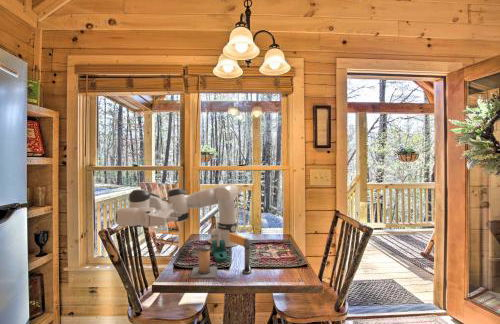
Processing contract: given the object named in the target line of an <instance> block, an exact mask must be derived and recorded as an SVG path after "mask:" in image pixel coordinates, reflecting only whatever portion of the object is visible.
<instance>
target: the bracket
mask: <svg viewBox="0 0 500 324" xmlns="http://www.w3.org/2000/svg"><path fill="white" fill-rule="evenodd" d="M211 253H212V256H213V257H214V260H215V262H217V263H225V262H224V261H226V262H227V261H228V259H229V258H228V257H229V256H228V254H227V252H226V247H225V241H224V240H220V243H219V247H217V240H212V244H211Z"/></svg>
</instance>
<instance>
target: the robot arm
mask: <svg viewBox="0 0 500 324" xmlns="http://www.w3.org/2000/svg"><path fill="white" fill-rule="evenodd" d="M239 190H240V189H239V187H238V185H236V184H234V183H226V184H222V185H219V186H215V187H211V188H207V189H203V190H199V191H195V192H193V193H190V194H188V192H187V191H185V189H183V188H181V187H180V188H179V187H174V188H171V189H170V190H169V191H168V192H167V197H168V201H166V200H161V198H160V196H159V195H158V194H156V193H152V192H150V191H148V190H145V189H141V188H139V189H133V190H132V191H131V192H130V193H129V194H128V200H129V207H124V208H123V207H122V208H118V209H117V210H116V213H115V222H116V225H118V226H125V227H132V228H141V227H144V228H150V227H160V226H164V225H166V224H167V223H171V222H177V223H183V222H185V221H187V220H188V219H189V218H190V212H189V209H190V210H192V209H193V210H195V209H196V210H197V209H202V208H206V207H210V206H214V205H218V215H219V217H218V222H217V226H216V228H215V229H214V230H212V232H211V233H210V237H209V238H207V240H206V241H207V242H208V243H210V244H211V245H212V240H217V248H219V243H220V240H224V241H225V248H229V247H230V248H231V247H235V246H239V244H236V243H234V242H231V241H229V233H234V234H236V235H238V229H237V227H238V222H237V209H236V204H235V199H236V198H237V197H238V195H239V192H240V191H239Z"/></svg>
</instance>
